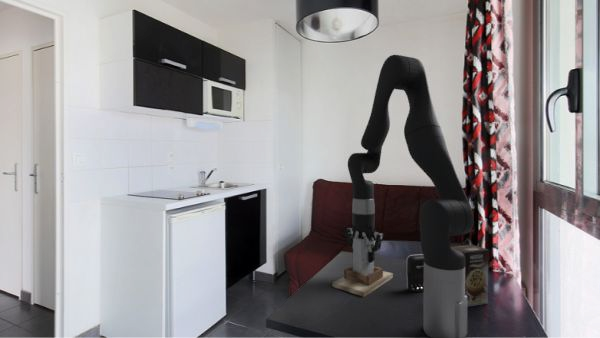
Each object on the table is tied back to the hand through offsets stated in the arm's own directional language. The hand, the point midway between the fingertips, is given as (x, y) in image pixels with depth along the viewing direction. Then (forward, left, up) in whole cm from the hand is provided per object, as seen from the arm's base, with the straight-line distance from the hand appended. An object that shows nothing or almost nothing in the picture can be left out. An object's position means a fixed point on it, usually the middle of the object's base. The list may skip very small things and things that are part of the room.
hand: (363, 260), depth 110 cm
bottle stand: (0, 0, -8) cm, 8 cm away
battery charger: (-17, -5, -8) cm, 19 cm away
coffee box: (-31, -7, -8) cm, 33 cm away
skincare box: (0, 0, -5) cm, 5 cm away
